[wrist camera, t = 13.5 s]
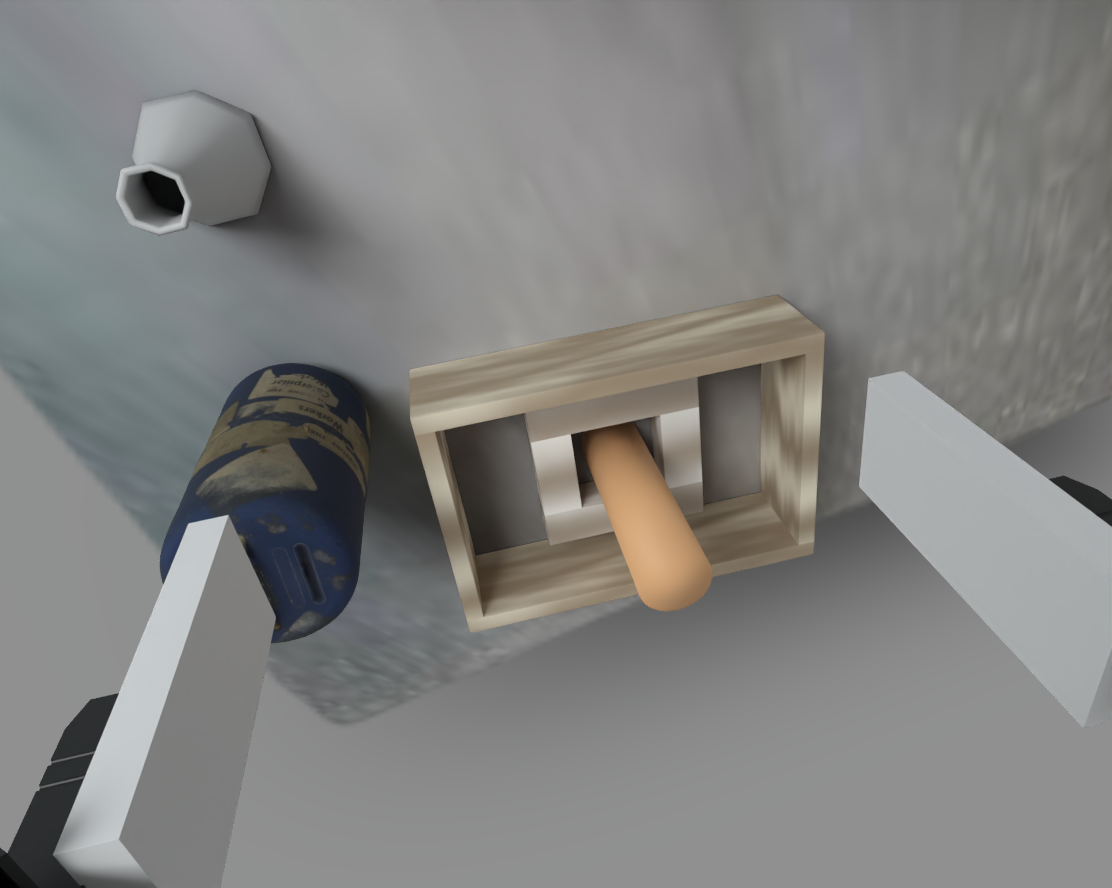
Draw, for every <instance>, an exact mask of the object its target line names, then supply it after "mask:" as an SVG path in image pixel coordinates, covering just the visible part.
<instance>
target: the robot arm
mask: <svg viewBox="0 0 1112 888" xmlns="http://www.w3.org/2000/svg"><path fill="white" fill-rule="evenodd" d="M859 487H860V488H861V489H862V490H863V491H864V492H865V493H866V494H867V495H868V497H869V498H870V499H871V500H872V501H873V502H874V503H875V504H876V505H877V506H878V507H879V508H880V509H881V511H882V512H883V513H884V514H885V515H886V516H887V517H888V518H889V519H890V520H891V521H892V522H893V523H894V524H895V526H896V527H897V528H898V529H899V530H900V531H901V532H902V533H903V534H904V535H905V536H906V537H907V539H908V540H909V541H910V542H911V543H912V544H913V545H914V546H915V547H916V548H917V549H918V550H919V551H920V553H921V554H922V555H923V556H924V557H925V558H926V559H927V560H928V561H929V562H930V563H931V564H932V565H933V567H935V569H936V570H937V571H938V572H939V573H940V574H941V575H942V576H943V577H944V578H945V579H946V581H948V583H949V584H950V585H951V586H952V587H953V588H954V589H955V590H956V591H957V592H958V593H959V595H961V596H962V598H963V599H964V600H965V601H966V602H967V603H968V604H969V605H970V606H971V607H972V609H973V610H974V611H975V612H976V613H977V614H978V615H979V616H980V617H981V618H982V619H983V620H984V621H985V623H986V624H987V625H988V626H989V627H990V628H991V629H992V630H993V631H994V632H995V633H996V634H997V635H998V637H999V638H1000V639H1001V640H1003V642H1004V643H1005V644H1006V645H1007V646H1008V647H1009V648H1010V649H1011V650H1012V652H1013V653H1014V654H1015V655H1016V656H1017V657H1018V658H1019V659H1020V660H1021V661H1022V662H1023V663H1024V664H1025V665H1026V667H1027V668H1028V669H1029V670H1030V671H1031V672H1032V673H1033V674H1034V675H1035V676H1036V677H1037V678H1038V680H1039V681H1040V682H1041V683H1042V684H1043V685H1044V686H1045V687H1046V688H1047V689H1048V690H1049V691H1050V692H1051V694H1052V695H1054V697H1055V698H1056V699H1057V700H1058V701H1059V702H1060V703H1061V704H1062V705H1063V706H1064V707H1065V708H1066V710H1068V712H1069V713H1070V714H1071V715H1072V716H1073V717H1074V718H1075V719H1076V720H1077V722H1078V723H1079V724H1080V725H1081V726H1082V727H1083V728H1086V727H1089V726H1094V725H1097V724H1101V723H1105V722H1109V721H1112V499H1110V498H1109V497H1107V496H1106V495H1104V494H1103V493H1102V492H1100V491H1099V490H1097V489H1095V488H1093V487H1090V486H1088V485H1085V484H1083V483H1080V482H1078V481H1075V480H1073V479H1070V478H1068V477H1066V476H1061V477H1056V478H1052V479H1047V478H1046V477H1045V476H1043V475H1042V474H1040V473H1039V472H1038V471H1036V470H1035V469H1034V468H1032V467H1031V466H1030V465H1028V464H1027V463H1026V462H1025V461H1023V460H1022V459H1020V458H1019V457H1018V456H1016V455H1015V454H1014V453H1012V452H1011V451H1010V450H1008V449H1007V448H1006V447H1004V446H1003V445H1002V444H1000V443H999V442H998V441H996V440H995V439H994V438H992V437H991V436H990V435H988V434H987V433H986V432H984V431H983V430H982V429H980V428H979V427H978V426H976V425H975V424H974V423H972V422H971V421H970V420H968V419H967V418H966V417H964V416H963V415H962V414H960V413H959V412H958V411H956V410H955V409H954V408H952V407H951V406H950V405H948V404H947V403H946V402H944V401H943V400H942V399H940V398H939V397H938V396H936V395H935V394H934V393H932V392H931V391H930V390H928V389H927V388H926V387H924V386H923V385H922V384H920V383H919V382H918V381H916V380H915V379H914V378H912V377H911V376H910V375H908V374H907V373H906V372H904V371H900V372H896V373H891V374H886V375H882V376H877V377H872V378H869V380H868V391H867V402H866V413H865V425H864V436H863V447H862V459H861V470H860V481H859ZM275 620H276V616H275V614H274V612H273V609H272V607H271V605H270V603H269V601H268V599H267V597H266V594H265V592H264V590H263V588H262V586H261V584H260V582H259V579H258V577H257V575H256V573H255V571H254V569H253V567H252V564H251V562H250V560H249V558H248V556H247V554H246V552H245V549H244V547H243V545H242V543H241V541H240V539H239V537H238V534H237V532H236V530H235V528H234V526H233V524H232V521H231V519H230V517H229V515H226V516H221V517H217V518H212V519H207V520H203V521H198V522H193V523H189V524H188V526H187V528H186V531H185V533H184V536H183V538H182V541H181V543H180V546H179V548H178V550H177V553H176V555H175V558H174V560H173V563H172V565H171V568H170V570H169V572H168V575H167V577H166V580H165V582H164V585H163V587H162V590H161V592H160V595H159V597H158V599H157V602H156V604H155V607H154V609H153V612H152V614H151V617H150V619H149V621H148V624H147V626H146V629H145V631H144V634H143V636H142V639H141V641H140V644H139V646H138V648H137V651H136V653H135V656H134V658H133V660H132V663H131V665H130V668H129V670H128V673H127V675H126V678H125V680H124V682H123V685H122V687H121V690H120V692H119V693H118V694H113V695H109V696H105V697H100V698H96V699H91V700H90V701H89V702H88V703H87V704H86V705H85V707H84V708H83V709H82V710H81V711H80V712H79V714H78V715H77V716H76V717H75V718H74V719H73V721H72V722H71V723H70V724H69V725H68V726H67V727H66V729H65V730H64V732H63V735H62V737H61V739H60V741H59V743H58V745H57V748H56V750H55V752H54V754H53V756H52V758H51V762H52V764H51V765H50V766H48V767H47V769H46V771H45V773H44V776H43V778H42V780H41V782H40V784H39V786H40V790H39V791H37V792H36V793H35V795H34V797H33V799H32V802H31V804H30V806H29V808H28V810H27V812H26V815H25V817H24V819H23V821H22V823H21V825H20V828H19V830H18V832H17V834H16V836H15V838H14V841H13V843H12V845H11V847H10V849H9V851H8V853H6V852H5V851H4V850H2V849H1V848H0V888H220V887H221V882H222V877H223V872H224V868H225V863H226V858H227V853H228V848H229V843H230V838H231V834H232V828H233V824H234V819H235V814H236V809H237V804H238V799H239V795H240V790H241V785H242V779H243V775H244V770H245V765H246V761H247V756H248V751H249V746H250V741H251V737H252V731H253V726H254V722H255V717H256V712H257V707H258V702H259V698H260V693H261V688H262V683H263V678H264V673H265V669H266V664H267V659H268V654H269V649H270V644H271V639H272V635H273V630H274V625H275Z"/></svg>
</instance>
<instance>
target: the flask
mask: <svg viewBox="0 0 1112 888" xmlns="http://www.w3.org/2000/svg"><path fill="white" fill-rule="evenodd" d="M132 156H133V159H134V162H135V164H136V166H132V167H128V168H124V169H122V170H121V173H120V178H119V183H118V188H117V193H116V199H117V201H118V203H119V205H120V207H121V209H122V211H123V212H124V214H125V216H126V218H127V220H128V222H129V224H130V225H132V226H134V227H137V228H140V229H143V230H146V231H148V232H151V233H154V234H157V235H164V234H168V233H172V232H176V231H180V230H184V229H187V228H188V226H189V222H190V219H192V220H194V221H197V222H200V223H202V224H205V225H208V226H212V225H216V224H220V223H224V222H228V221H232V220H236V219H240V218H244V217H248V216H252V215H256V214H258V213H259V209H260V206H261V202H262V199H263V195H264V191H265V188H266V184H267V181H268V177H269V173H270V170H271V164H270V162H269V159H268V157H267V154H266V152H265V149H264V146H263V144H262V141H261V139H260V136H259V134H258V131H257V129H256V126H255V123H254V121H253V118H252V116H251V113H248V112H246V111H244V110H241V109H239V108H237V107H234V106H232V105H229V104H227V103H225V102H222V101H220V100H218V99H215V98H213V97H211V96H208V95H206V94H204V93H201V92H199V91H197V90H193V91H189V92H185V93H181V94H177V95H173V96H169V97H165V98H161V99H157V100H152V101H148V102H144V103H142V108H141V113H140V118H139V123H138V128H137V133H136V138H135V143H134V148H133V153H132Z"/></svg>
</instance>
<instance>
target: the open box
mask: <svg viewBox="0 0 1112 888" xmlns="http://www.w3.org/2000/svg"><path fill="white" fill-rule="evenodd" d="M824 343H825V332H824V331H822V330H821V329H820V328H819V327H817V326H816V325H815V324H814V323H812V322H811V321H810V320H809V319H807V318H806V317H805V316H804V315H802V314H801V313H800V312H799V311H797V310H796V309H795V308H794V307H792V306H791V305H790V304H789V303H787V302H786V301H785V300H783V299H782V298H781V297H780V296H778V295H774V296H770V297H765V298H760V299H755V300H750V301H745V302H740V303H735V304H730V305H725V306H720V307H715V308H710V309H706V310H701V311H696V312H691V313H686V314H681V315H676V316H671V317H666V318H661V319H656V320H651V321H646V322H641V323H637V324H632V325H627V326H622V327H617V328H612V329H607V330H602V331H597V332H592V333H587V334H582V335H577V336H573V337H568V338H563V339H558V340H553V341H548V342H543V343H538V344H533V345H528V346H523V347H518V348H513V349H509V350H504V351H499V352H494V353H489V354H484V355H479V356H474V357H469V358H464V359H459V360H454V361H449V362H445V363H440V364H435V365H430V366H425V367H420V368H415V369H410V370H409V371H410V420H411V424H412V427H413V431H414V434H415V438H416V441H417V445H418V448H419V452H420V455H421V459H422V463H423V466H424V470H425V473H426V477H427V480H428V484H429V487H430V491H431V495H432V498H433V502H434V505H435V509H436V512H437V516H438V519H439V523H440V526H441V530H442V534H443V537H444V541H445V544H446V548H447V551H448V555H449V558H450V562H451V566H452V569H453V573H454V576H455V580H456V583H457V587H458V590H459V594H460V597H461V601H462V605H463V608H464V612H465V615H466V619H467V622H468V626H469V629H470V633H472V632H477V631H481V630H485V629H490V628H494V627H498V626H503V625H507V624H511V623H516V622H520V621H524V620H529V619H533V618H537V617H542V616H546V615H551V614H555V613H559V612H564V611H568V610H572V609H577V608H581V607H585V606H590V605H594V604H598V603H603V602H607V601H611V600H616V599H620V598H624V597H629V596H633V595H637V594H639V593H638V591H637V588H636V586H635V583H634V581H633V578H632V576H631V573H630V571H629V568H628V565H627V563H626V560H625V558H624V555H623V553H622V550H621V548H620V545H619V542H618V540H617V537H616V535H615V532H614V530H613V527H612V525H611V522H610V520H609V517H608V514H607V512H606V509H605V507H604V504H603V502H602V499H601V497H600V494H599V491H598V489H597V486H596V484H595V481H592V482H588V483H583V484H579V485H578V479H577V472H576V466H575V459H574V453H573V446H572V440H571V434H574V433H579V432H583V431H588V430H593V429H597V428H602V427H607V426H612V425H616V424H621V423H626V422H630V421H635V420H640V419H644V418H649V417H650V420H651V432H652V444H653V455H654V461H655V463H656V465H657V467H658V469H659V470H660V472H661V474H662V476H663V478H664V480H665V482H666V483H667V485H668V487H669V489H670V491H671V493H672V495H673V496H674V498H675V500H676V502H677V504H678V506H679V508H680V509H681V511H682V513H683V515H684V517H685V519H686V521H687V522H688V524H689V526H690V528H691V530H692V532H693V534H694V535H695V537H696V539H697V541H698V543H699V545H700V547H701V548H702V550H703V552H704V554H705V556H706V558H707V560H708V561H709V563H710V565H711V568H712V573H713V574H712V577H716V576H719V575H724V574H728V573H733V572H737V571H742V570H746V569H750V568H755V567H759V566H763V565H767V564H772V563H776V562H781V561H785V560H789V559H794V558H798V557H802V556H807V555H811V554H814V553H813V552H814V534H815V515H816V496H817V477H818V458H819V439H820V420H821V401H822V381H823V362H824ZM756 364H761V492H759V493H755V494H750V495H746V496H741V497H737V498H732V499H728V500H723V501H719V502H714V503H710V504H705V505H703V485H702V463H701V442H700V420H699V398H698V377H699V376H703V375H708V374H713V373H718V372H722V371H727V370H732V369H737V368H742V367H746V366H751V365H756ZM522 413H523V414H524V419H525V424H526V430H527V435H528V440H529V445H530V451H531V456H532V461H533V467H534V472H535V477H536V483H537V488H538V493H539V498H540V504H541V509H542V514H543V520H544V524H545V528H546V532H547V535H548V540H543V541H539V542H534V543H530V544H525V545H521V546H517V547H512V548H508V549H503V550H499V551H494V552H490V553H485V554H481V555H475V551H474V547H473V543H472V539H471V535H470V531H469V527H468V523H467V519H466V516H465V512H464V508H463V504H462V500H461V496H460V492H459V488H458V484H457V481H456V477H455V473H454V469H453V465H452V461H451V457H450V453H449V449H448V446H447V442H446V438H445V434H444V430H446V429H451V428H455V427H460V426H465V425H470V424H474V423H479V422H484V421H489V420H493V419H498V418H503V417H508V416H513V415H517V414H522Z"/></svg>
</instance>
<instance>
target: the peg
mask: <svg viewBox="0 0 1112 888" xmlns="http://www.w3.org/2000/svg"><path fill="white" fill-rule="evenodd" d="M582 451H583V453H584V456H585V458H586V461H587V463H588V466H589V468H590V471H591V474H592V476H593V479H594V481H595V484H596V486H597V489H598V491H599V494H600V497H601V499H602V502H603V504H604V507H605V509H606V512H607V514H608V517H609V520H610V522H611V525H612V527H613V530H614V532H615V535H616V537H617V540H618V542H619V545H620V548H621V550H622V553H623V555H624V558H625V560H626V563H627V565H628V568H629V571H630V573H631V576H632V578H633V581H634V583H635V586H636V588H637V591H638V593H639V596H640V598H641V600H642V601H643V602H644V603H645V604H646V605H647V606H649V607H650V608H653V609H656V610H660V611H674V610H678V609H682V608H685V607H687V606H689V605H691V604H693V603H694V602H696V601H697V600H699V599H700V598H701V597H702V596H703V595H704V594H705V593H706V591H707V590H708V588H709V586H710V584H711V581H712V574H713V573H712V568H711V565H710V563H709V561H708V560H707V558H706V556H705V554H704V552H703V550H702V548H701V547H700V545H699V543H698V541H697V539H696V537H695V535H694V534H693V532H692V530H691V528H690V526H689V524H688V522H687V521H686V519H685V517H684V515H683V513H682V511H681V509H680V508H679V506H678V504H677V502H676V500H675V498H674V496H673V495H672V493H671V491H670V489H669V487H668V485H667V483H666V482H665V480H664V478H663V476H662V474H661V472H660V470H659V469H658V467H657V465H656V463H655V461H654V459H653V457H652V456H651V454H650V452H649V450H648V448H647V446H646V444H645V443H644V441H643V439H642V437H641V435H640V433H639V431H638V430H637V428H636V426H635V425H634V423H633V422H632V421H630V422H626V423H621V424H616V425H612V426H607V427H602V428H597V429H593V430H588V431H585V433H584V435H583V438H582Z"/></svg>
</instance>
